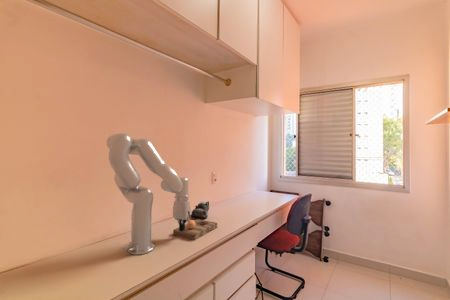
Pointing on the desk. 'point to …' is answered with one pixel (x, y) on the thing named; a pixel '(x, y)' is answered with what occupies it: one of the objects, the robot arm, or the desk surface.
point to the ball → (191, 224)
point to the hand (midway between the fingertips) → (182, 230)
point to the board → (196, 229)
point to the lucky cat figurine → (201, 210)
